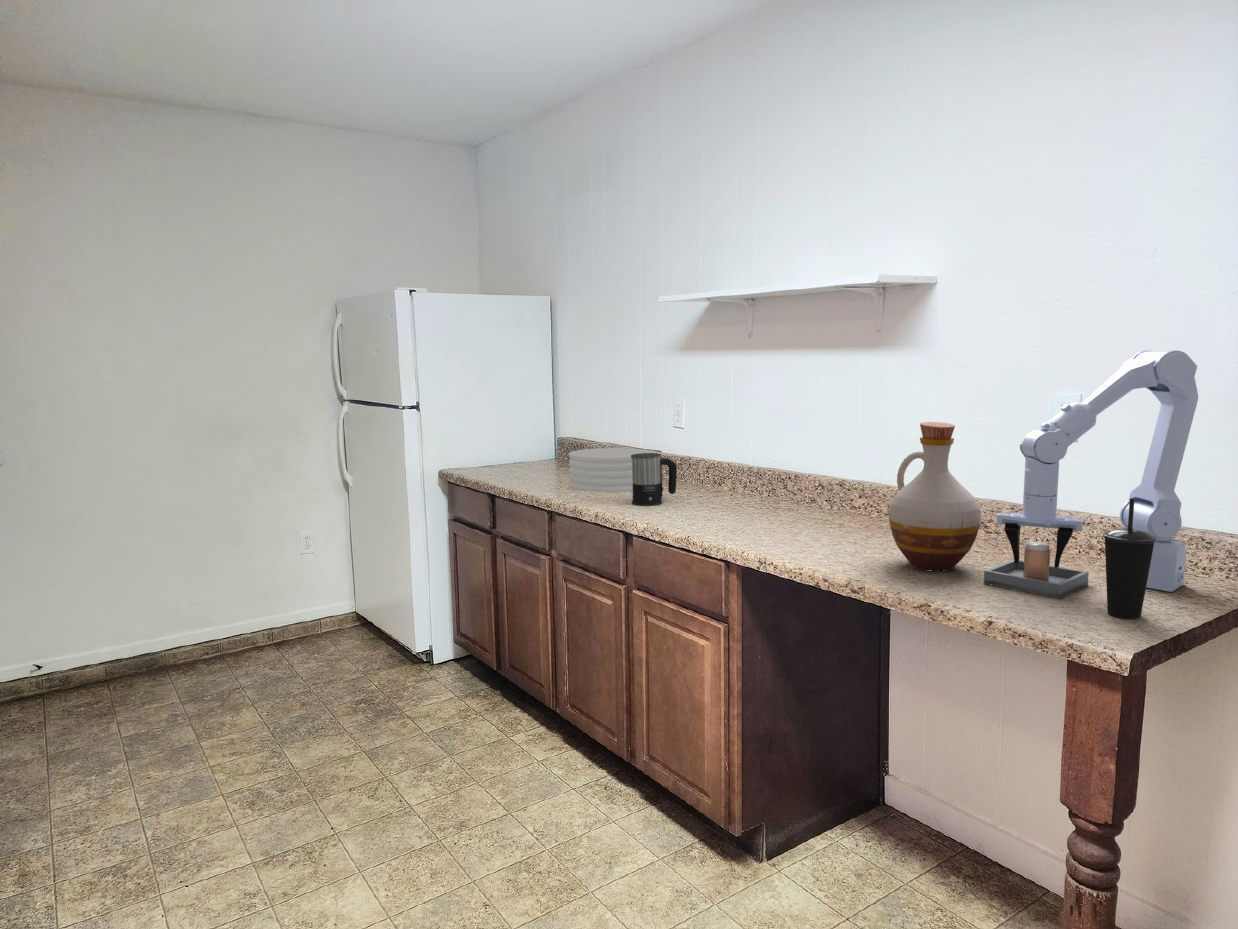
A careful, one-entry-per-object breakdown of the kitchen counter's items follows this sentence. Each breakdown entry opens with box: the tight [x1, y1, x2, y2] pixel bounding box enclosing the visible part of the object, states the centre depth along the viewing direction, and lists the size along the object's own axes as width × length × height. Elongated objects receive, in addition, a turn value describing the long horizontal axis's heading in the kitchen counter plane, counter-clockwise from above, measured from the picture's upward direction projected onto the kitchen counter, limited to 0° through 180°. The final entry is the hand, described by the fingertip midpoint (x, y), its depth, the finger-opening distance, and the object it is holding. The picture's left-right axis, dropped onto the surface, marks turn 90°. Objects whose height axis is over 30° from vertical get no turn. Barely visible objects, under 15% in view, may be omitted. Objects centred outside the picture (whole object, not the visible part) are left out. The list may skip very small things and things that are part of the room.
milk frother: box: [631, 452, 678, 506], centre depth 254 cm, size 14×16×15 cm
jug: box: [888, 421, 982, 572], centre depth 173 cm, size 20×18×30 cm
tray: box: [983, 558, 1089, 599], centre depth 160 cm, size 14×13×2 cm
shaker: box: [1023, 541, 1051, 582], centre depth 159 cm, size 4×4×7 cm
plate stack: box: [568, 447, 652, 493], centre depth 285 cm, size 28×28×12 cm
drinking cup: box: [1102, 498, 1157, 620], centre depth 140 cm, size 8×8×20 cm
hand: (1036, 564), depth 159 cm, fingers open, 6 cm apart
